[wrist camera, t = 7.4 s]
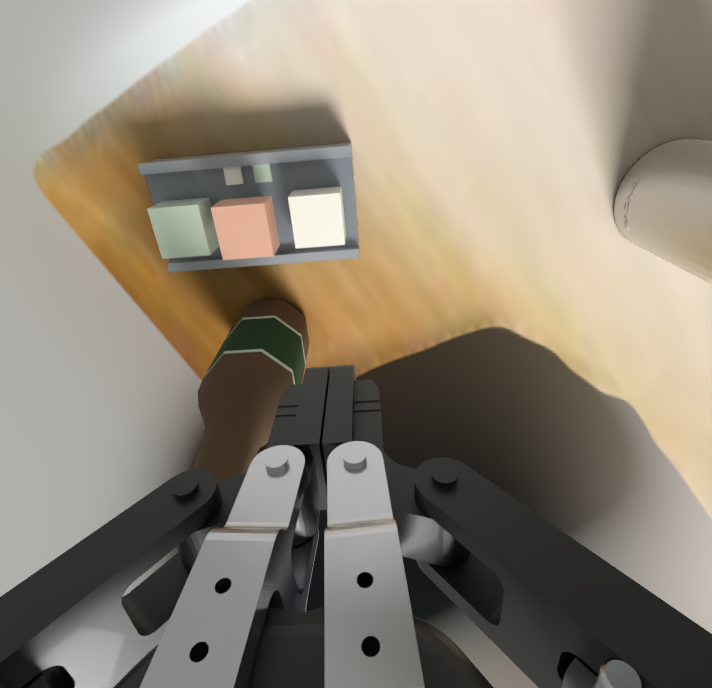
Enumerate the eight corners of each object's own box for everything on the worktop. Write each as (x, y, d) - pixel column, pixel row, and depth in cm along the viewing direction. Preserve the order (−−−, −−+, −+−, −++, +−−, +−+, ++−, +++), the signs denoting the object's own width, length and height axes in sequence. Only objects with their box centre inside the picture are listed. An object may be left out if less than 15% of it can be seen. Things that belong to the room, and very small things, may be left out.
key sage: (209, 197, 36) (197, 204, 33) (220, 244, 38) (210, 255, 35) (162, 201, 36) (146, 208, 34) (175, 248, 38) (162, 258, 36)
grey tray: (351, 142, 37) (350, 147, 32) (359, 247, 41) (359, 264, 37) (153, 159, 37) (126, 167, 33) (182, 260, 42) (161, 279, 37)
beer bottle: (300, 369, 48) (254, 579, 27) (230, 349, 46) (124, 553, 25) (320, 307, 44) (284, 494, 23) (244, 284, 43) (134, 459, 22)
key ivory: (341, 186, 36) (340, 192, 33) (346, 234, 37) (345, 244, 35) (293, 190, 36) (287, 197, 33) (300, 238, 38) (295, 248, 35)
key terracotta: (271, 195, 34) (264, 203, 32) (279, 245, 36) (273, 256, 34) (221, 199, 35) (210, 207, 32) (232, 248, 36) (222, 260, 34)
